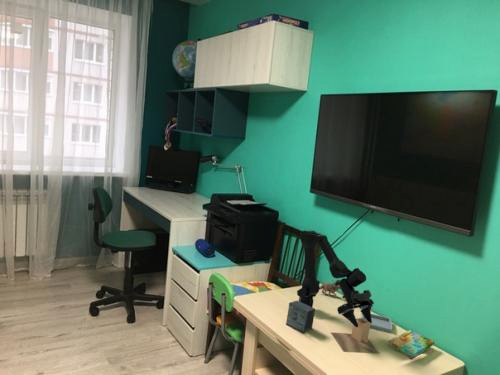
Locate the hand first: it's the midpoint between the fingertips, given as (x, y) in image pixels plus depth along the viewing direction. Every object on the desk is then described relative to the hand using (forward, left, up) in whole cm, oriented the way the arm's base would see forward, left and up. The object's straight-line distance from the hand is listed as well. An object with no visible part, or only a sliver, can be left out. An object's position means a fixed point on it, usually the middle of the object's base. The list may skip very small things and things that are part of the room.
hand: (364, 325), depth 178 cm
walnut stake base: (-5, -3, -8) cm, 9 cm away
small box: (-26, +10, -8) cm, 29 cm away
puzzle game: (+21, -4, -8) cm, 23 cm away
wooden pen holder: (-1, +1, -7) cm, 7 cm away
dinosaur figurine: (+3, +52, -8) cm, 53 cm away
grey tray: (+15, +17, -8) cm, 24 cm away
